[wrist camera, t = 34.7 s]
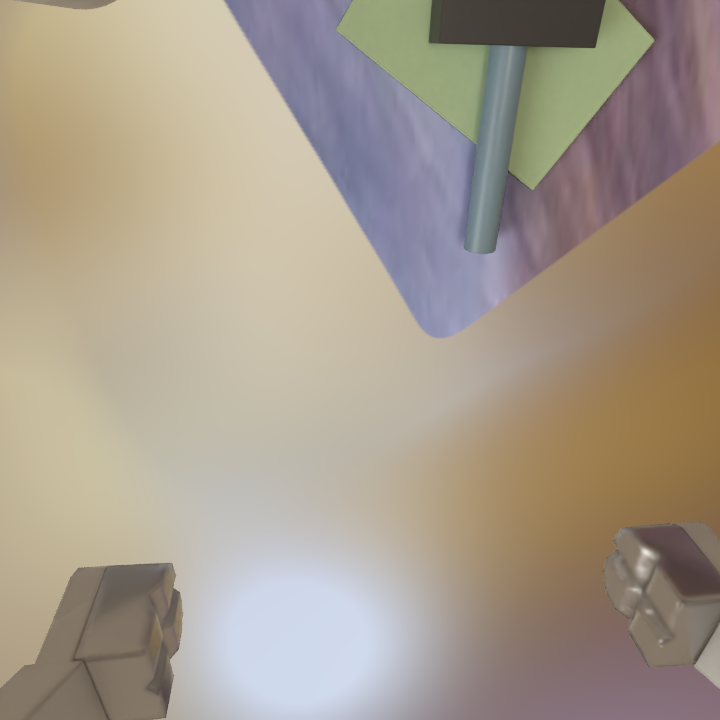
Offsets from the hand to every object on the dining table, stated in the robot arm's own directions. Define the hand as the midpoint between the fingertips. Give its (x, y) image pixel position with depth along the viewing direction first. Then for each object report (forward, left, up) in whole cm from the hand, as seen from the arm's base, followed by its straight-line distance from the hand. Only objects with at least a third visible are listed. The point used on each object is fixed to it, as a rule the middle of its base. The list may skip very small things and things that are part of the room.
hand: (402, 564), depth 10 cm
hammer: (+8, +9, -33) cm, 36 cm away
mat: (+5, +14, -34) cm, 37 cm away
